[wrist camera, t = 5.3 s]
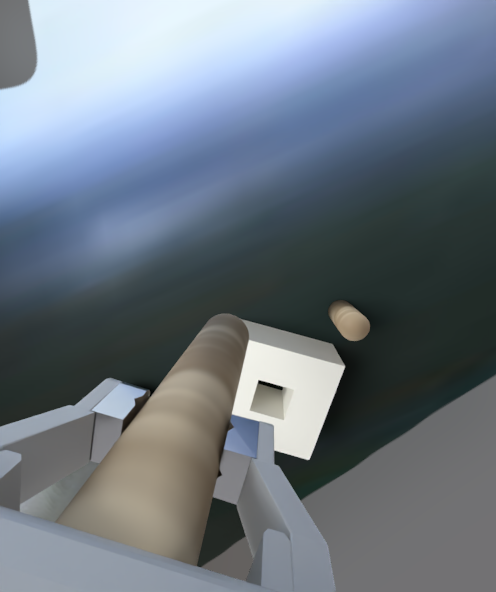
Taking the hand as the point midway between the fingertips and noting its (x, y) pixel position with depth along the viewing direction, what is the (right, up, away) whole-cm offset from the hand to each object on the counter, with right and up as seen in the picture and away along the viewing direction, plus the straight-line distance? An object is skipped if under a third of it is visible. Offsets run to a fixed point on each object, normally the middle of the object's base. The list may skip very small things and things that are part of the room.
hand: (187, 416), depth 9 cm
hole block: (+5, -7, +26) cm, 28 cm away
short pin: (+14, +2, +23) cm, 27 cm away
